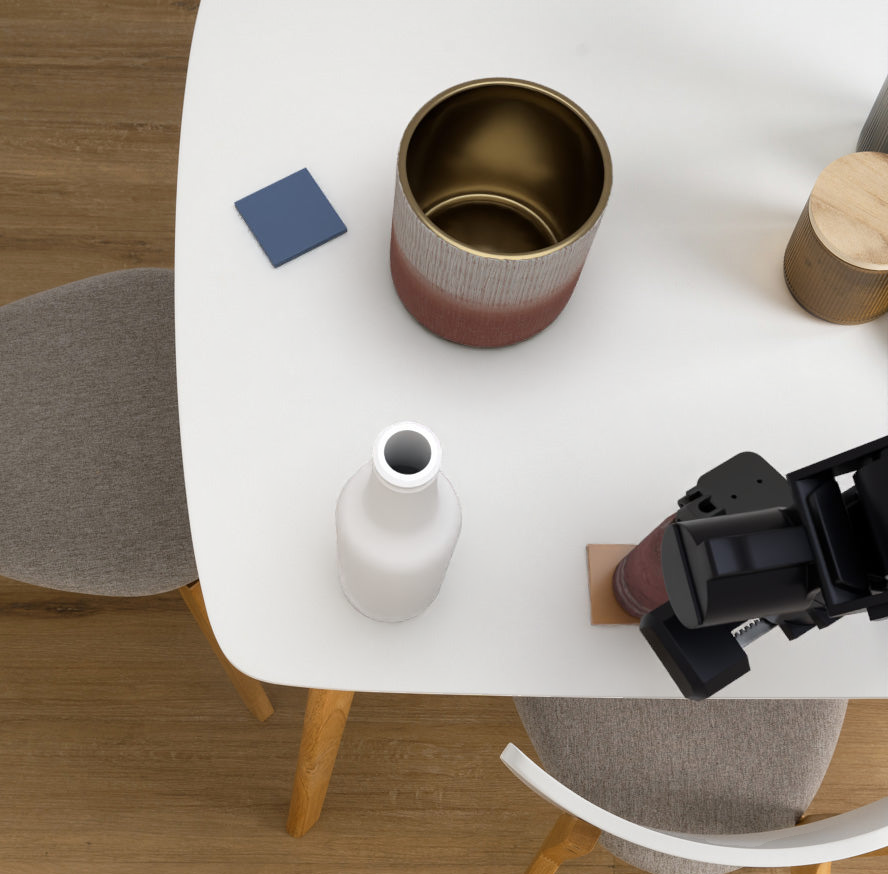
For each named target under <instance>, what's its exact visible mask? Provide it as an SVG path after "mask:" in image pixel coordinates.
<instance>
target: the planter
mask: <svg viewBox="0 0 888 874" xmlns="http://www.w3.org/2000/svg"><path fill="white" fill-rule="evenodd" d="M398 145H399V146H398V149H397V156H396V167H395V169H396V170H395V183H394V194H393V195H394V196H393V207H392V217H391V218H392V220H391V231H390V243H389V264H390V265H389V266H390V274H391V278H392V282H393V285H394V286H393V287H394V289H395V290H396V293H397V295H398V298H399V299H400V301H401V302H402V304H403V305H404V307H405V308H406V310H407V311H408V312H409V313H410V315H411V316H412V317H413V318H414V319H415V320H416V321H417V322H418V323H419V324H421V325H422V326H423V327H425V328H426V329H427V330H429V331H431V332H432V333H434V334H435V335H437V336H438V337H441V338H443V339H445V340H448V341H450V342H452V343H456V344H460V345H464V346H470V347H474V348H500V347H505V346H510V345H515V344H517V343H521V342H524V341H526V340H528V339H531V338H532V337H534V336H536V335H538V334H539V333H541V332H542V331H544V330H545V329H547V328H548V327H549V326H551V324H553V322H554V321H556V320H557V319H558V317H559V316H561V313H562V312H563V311H564V309H565V307H566V306H567V304H568V303H569V301H570V300H571V297H572V295H573V293H574V291H575V289H576V286H577V284H578V281H579V279H580V277H581V274H582V271H583V268H584V266H585V263H586V260H587V258H588V255H589V253H590V250H591V247H592V246H593V245H592V244H593V242H594V239H595V237H596V235H597V233H598V229H599V228H600V225H601V222H602V220H603V217H604V216H605V212H606V210H607V207H608V205H609V202H610V198H611V196H612V191H613V186H614V165H613V160H612V155H611V151H610V148H609V145H608V143H607V140H606V137H605V136H604V135H603V132H602V131H601V129H600V128H599V126H598V125H597V124H596V122H595V121H594V120H593V118H592V117H591V116H590V115H589V114H588V112H587V111H585V110H584V108H582V107H581V106H580V105H579V104H577V102H575V101H574V100H573V99H571V98H569V97H568V96H566V95H565V94H563V93H561V92H559V91H558V90H556V89H553V88H551V87H549V86H547V85H544V84H542V83H538V82H535V81H531V80H528V79H522V78H515V77H506V76H505V77H501V76H496V77H495V76H494V77H483V78H475V79H471V80H467V81H464V82H461V83H460V82H459V83H457V84H455V85H452V86H450V87H448V88H446V89H444V90H442V91H441V92H439V93H437V94H436V95H434V96H433V97H432V98H430V99H429V100H427V102H425V103H424V104H423V105H422V106H421V107H420V108H419V109H418V110H417V111H416V113H414V115H413V116H412V118H411V119H410V121H409V122H408V124H407V126H406V127H405V129H404V132H403V134H402V136H401V139H400V142H399V144H398Z"/></svg>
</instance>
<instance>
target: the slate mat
mask: <svg viewBox="0 0 888 874" xmlns="http://www.w3.org/2000/svg"><path fill="white" fill-rule="evenodd" d="M233 203H234V207H235V209H236V210H237V212H238V213H239V215H240V217H241V218H242V219H243V221H244V222H245V224H246V226H247V227H248V229H249V231H250V232H251V233H252V235H253V237H254V238H255V240H256V242H258V244H259V246H260V247H261V249H262V251H263V252H264V254H265V255H266V257H267V258H268V260H269V262H270V263H271V265H272V266H273V268H275V269H277V268H278V267H280V266H283V265H284V264H287V263H289V262H291V261H292V260H294V259H296V258H299V257H300V256H302V255H304V254H306V253H308V252H310V251H312V250H313V249H316V248H317V247H319V246H322V245H324V244H325V243H328V242H329V241H332V240H333V239H335V238H338V237H340V236H342V235H343V234H346V233H347V232H348V227H347V226H346V224H345V223H344V221H343V220H342V218H341V217H340V215H339V214H338V212H337V211H336V210H335V208H334V206H333V205H332V204H331V202H330V201H329V199H328V198H327V196H326V195H325V193H324V192H323V190H322V189H321V187H320V186H319V184H318V182H317V181H316V179H315V178H314V177H313V175H312V174H311V172H310V171H309V170H308V168H307V167H306V166H305V167H304V168H301V169H299V170H297V171H295V172H293V173H291V174H289V175H287V176H285V177H283V178H281V179H279V180H277V181H274V182H273V183H271V184H268V185H267V186H264V187H262V188H261V189H258V190H257V191H255V192H253V193H250V194H248V195H246V196H244V197H242V198H240V199H238V200H236V201H235V202H233Z"/></svg>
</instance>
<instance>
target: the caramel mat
mask: <svg viewBox="0 0 888 874" xmlns="http://www.w3.org/2000/svg"><path fill="white" fill-rule="evenodd" d="M637 545H638V544H623V543H622V544H615V543H613V544H611V543H588V544H586V557H587V558H586V560H587V574H588V575H587V577H588V593H589V609H590V625H592V626H640V622H641V619H639V618H637V617H634V616H632V615H630V614H629V613H628V612H627V611H625V610H624V609H623V608H622V607H621V605H620V604H619V602H618V601H617V599H616V597H615V594H614V591H613V575H614V572H615V569H616V566H617V565H618V564H619V563H620V561H621V560H622V559H623V558H624V557H625V556H626V555H627V554H628V553H629V552H630V551H632V550H633V549H634V548H635V547H636V546H637Z"/></svg>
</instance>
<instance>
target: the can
mask: <svg viewBox="0 0 888 874" xmlns="http://www.w3.org/2000/svg"><path fill="white" fill-rule="evenodd" d="M676 513H677V511H676V512H674V513H672V514H670V515H668V516H667V517H666V518H665V519H664V520H663V521H662V522H660V524H658V525H657V526H656V527H655V528H654V529H653V530H652V531H651V532H650V533H648V535H647V536H646V537H644V538H643V539H642V540H641V541H640V542H639V543H638V544H636V545H637V546H636V547H635V548H634V549H633V550H632V551H630V552H629V553H628V554H627V555H626V556H625V557H624V558H623V559H622V560H621V561H620V563H619V564H618V565H617V566H616V569H615V572H614V575H613V591H614V594H615V597H616V599H617V601H618V602H619V604H620V605H621V607H622V608H623V609H624V610H625V611H627V612H628V613H629V614H630V615H632V616H634V617H637V618H639V619H641V617H643V616H644V615H646V614H647V613H649V612H651V611H652V610H654V609H655V608H657V607H659V606H660V605H662V604H663V603H665V602H667V601H668V600H669V597H668V594H667V591H666V587H665V583H664V578H663V572H662V563H661V545H662V538H663V534H664V531H665V529H666V528H667V526H668V525H670V524H672V523H675V519H676Z"/></svg>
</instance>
